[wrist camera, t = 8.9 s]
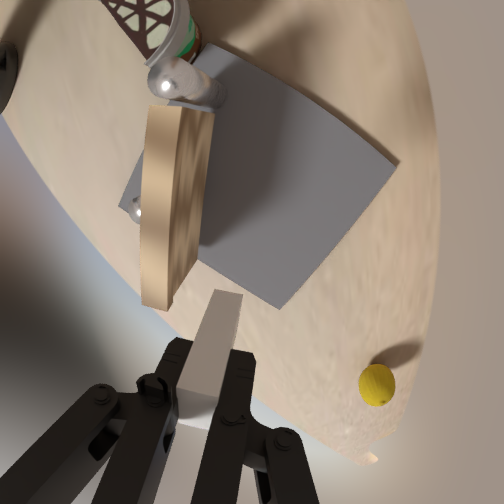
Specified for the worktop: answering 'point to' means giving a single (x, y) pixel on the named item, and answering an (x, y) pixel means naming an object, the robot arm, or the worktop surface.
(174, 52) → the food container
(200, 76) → the posts
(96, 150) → the worktop surface
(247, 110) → the mat
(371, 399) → the lemon
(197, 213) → the light wood flat slab
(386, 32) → the worktop surface
